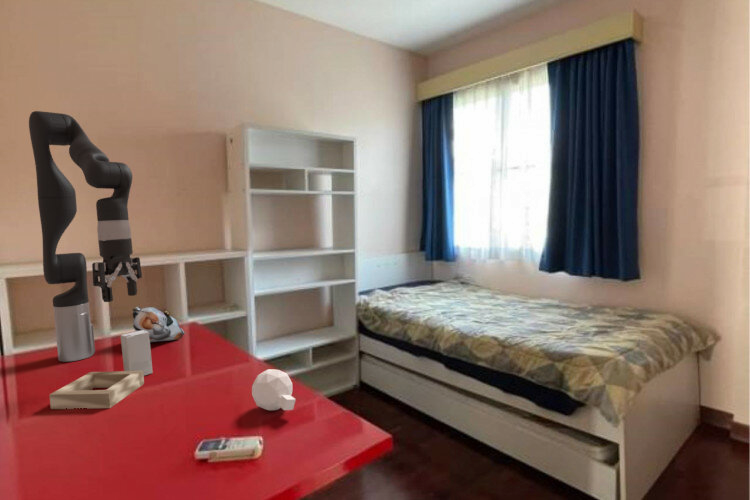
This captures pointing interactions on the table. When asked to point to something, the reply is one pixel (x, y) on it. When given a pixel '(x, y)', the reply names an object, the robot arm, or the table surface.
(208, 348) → the table surface
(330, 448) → the table surface
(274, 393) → the perfume bottle
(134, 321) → the lucky cat figurine
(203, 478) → the table surface
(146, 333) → the skincare box
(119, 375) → the square wooden frame
